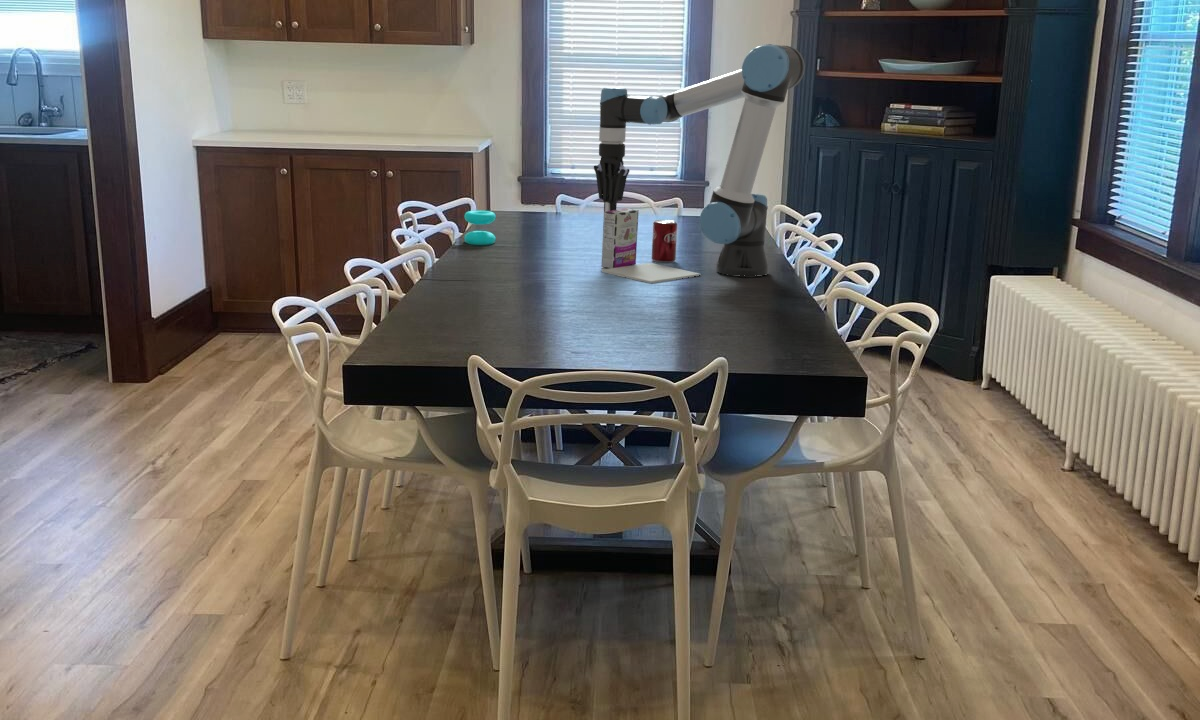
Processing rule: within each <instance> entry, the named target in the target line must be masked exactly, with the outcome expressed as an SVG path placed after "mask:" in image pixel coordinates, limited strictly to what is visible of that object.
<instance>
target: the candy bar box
mask: <svg viewBox="0 0 1200 720" xmlns="http://www.w3.org/2000/svg"><path fill="white" fill-rule="evenodd" d="M638 225H639V209H634V208H629V207H626V208H625V207H624V208H619V209H616V210H612V211H606V212H604V211H603V227H602V245H601V246H602V247H601V248H602V249H601V250H602V251H601V268H603V269H609V268H617V267H624V266H631V265H637V247H638V246H637V243H638V227H639V226H638Z"/></svg>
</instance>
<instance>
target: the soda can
mask: <svg viewBox="0 0 1200 720" xmlns="http://www.w3.org/2000/svg"><path fill="white" fill-rule="evenodd" d="M677 236H678V223H677V221H675V220H670V219H668V220H667V219H657V220H654V221H653V224H652V243H651V260H652V261H653V262H654V263H658V264H659V263H660V264H672V263H674V262H675V261H676V259H677V258H676V255H677V241H678V240H677V239H678V237H677Z"/></svg>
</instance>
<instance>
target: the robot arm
mask: <svg viewBox="0 0 1200 720" xmlns="http://www.w3.org/2000/svg"><path fill="white" fill-rule="evenodd" d="M805 69H806V64H805V61H804V58H803V55H802V54H801V53H800V51H798V49H796V48H794V47H792V46H788V45H780V44H771V43H768V44H764V45H763V44H762V45H759V46H756V47H755V48H753V49H751V50H750V51H749V52H748V53H747V55H746V56H745V58H744V59H743V62H742V64H741V69H738V70H735V71H733V72H729V73H726V74H723V75H720V76H718V77H714V78H711V79H709V80H705V81H702V82H700V83H697V84H693V85H689V86H687V87H685V88H682V89H679V90H676V91H673V92H669V93H666V94H663V95H647V96H645V95H629V94H628V89H626V88H625V87H603V88H602V89H601V90H600V91H601V92H600V102H599V109H600V110H599V112H600V113H599V134H598V141H599V142H600V143H599V145H598V156H600V159H599V163H598V164H596V165H594V166H593V170H594V172H595V177H596V185H597V192H598V199H599V200H603V213H604V212H606V211H612V210H617V205H618V204H617V203H619V202H620V201H623V198H624V197H623V196H624V193H625V188H626V184H627V183H626V182H627V178H628V176H629V174H630V168H626V167H625V164H624V160H623V158H624V157H625V155H626V144H625V142H626V131H627V127H626V126H627V123H632V124H645V125H646V124H647V125H649V126H651V125H661V124H662V123H673V122H675V121H678V120H679V119H681V118H683V117H686V116H689V115H692V114H696V113H698V112H702V111H705V110H708V109H711V108H715V107H717V106H721V105H723V104H727V103H730V102H734V101H737V100H739V99H742V98H744V102H743V106H742V107H741V108H742V109H741V113H740V116H739V118H738V119H739V120H738V122H737V123H738V124H737V127H736V131H735V133H734V138H733V140H732V144H731V147H730V152H729V155H728V159H727V162H726V164H725V165H726V166H725V168H724V173H723V176H722V179H721V183H720V185H718V186H717V187H714V188H713V190H712V194H711V197H710V201H709V203H708V204H706V205H705V206H704V208H703V209H702V210H701V213H700V215H699V228H700V230H701V231H702V233H703V236H705V238H706V239H707V240H709V241H710V242H712V243H714V244H717V245H718V244H719V245H723V246H722V248H721V251H720V254H719V257H718V260H717V261H716V265H715V272H716V271H717V272H716V273H718V272H719V274H720V273H722V274H721V275H724V274H728V275H727V276H729V275H740V276H744V275H745V276H755V275H756V276H757V275H765V274H768V275H769V270H770V267H769V263H768V258H767V254H766V250H765V242H766V241H765V239H766V229H767V227H766V226H767V217H768V216H767V214H768V198H767V196H766V195H764V194H760V193H758V194H757V193H752V191H753V188H754V184H755V182H756V177H757V174H758V171H759V169H760V168H759V167H760V163H761V162H762V161H761V160H762V157H763V154H764V150H765V147H766V144H767V140H768V137H769V134H770V130H771V127H772V123H773V121H774V117H775V113H776V109H777V108H778V107H779V106H781V105H782V104H784V103H785V100H786V97H787V94H788V90H790V89H792V88H794V87H796V86H797V85H798V84H799V83H800V82H801V80H802V79H803V76H804V75H805Z"/></svg>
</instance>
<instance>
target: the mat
mask: <svg viewBox="0 0 1200 720" xmlns="http://www.w3.org/2000/svg"><path fill="white" fill-rule="evenodd" d="M600 272H601V273H604V274H605V273H606V274H610V275H614V276H616V277H617V276H619V277H622V278H625V277H626V278H625V279H629V280H630V279H631V280H634V281H639V282H642V281H643V283H647V284H657V283H662V282H663V283H664V282H669V281H675V280H676V279H677V280H681V279H682V278H683V279H689V278H695V277H694V276H696V277H700V276H701V274H702V273H700V272H695V271H689V270H685V269H681V268H676V267H671V266H667V265H663V264H659V263H655V262H654V263H653V262H647V263H640V264H635V265H631V266H624V267H617V268H602V269H600ZM699 275H700V276H699ZM688 277H689V278H688Z"/></svg>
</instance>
